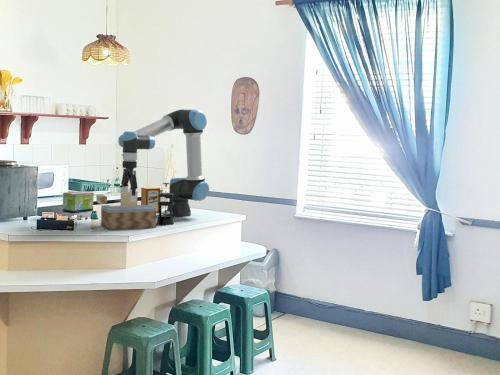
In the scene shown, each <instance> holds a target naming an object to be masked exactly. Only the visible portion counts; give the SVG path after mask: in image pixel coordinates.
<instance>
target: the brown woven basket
mask: <svg viewBox="0 0 500 375" xmlns="http://www.w3.org/2000/svg"><path fill="white" fill-rule="evenodd" d="M103 206H110V205H109V204H108V205H107V204H103ZM100 221H101V222H100V226H101V227H102V228H104V227H105V229H106V230H108V231H115V230H135V229H154V228H157V213H156V211H146V212H120V213H108V212H106V211H104V210H102V209H101V212H100Z"/></svg>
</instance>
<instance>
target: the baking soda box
mask: <svg viewBox="0 0 500 375" xmlns="http://www.w3.org/2000/svg"><path fill="white" fill-rule="evenodd" d="M140 188H141V191H140V192H141V194H140V198H141V199H140V205H149V206H152V207H154V208H156V214H159V213H158V212H159V205H158V202H161V197H159V195H158V193H161V188H160V187H155V186H153V187H152V186H144V187H140Z"/></svg>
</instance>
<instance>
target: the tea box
mask: <svg viewBox="0 0 500 375" xmlns="http://www.w3.org/2000/svg"><path fill="white" fill-rule="evenodd" d="M94 193H95V192H92V191H84V190H81V191H80V190H79V191H78V190H77V191H68V192H62V215H63V216H68V217H71V216H74V215H77V219H79V220H80V219H85V218H92V217H91V213H92V212H93V213H94ZM62 215H61V216H62ZM77 219H76V220H77Z"/></svg>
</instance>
